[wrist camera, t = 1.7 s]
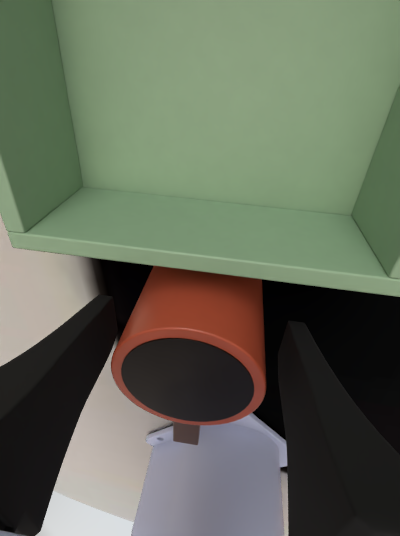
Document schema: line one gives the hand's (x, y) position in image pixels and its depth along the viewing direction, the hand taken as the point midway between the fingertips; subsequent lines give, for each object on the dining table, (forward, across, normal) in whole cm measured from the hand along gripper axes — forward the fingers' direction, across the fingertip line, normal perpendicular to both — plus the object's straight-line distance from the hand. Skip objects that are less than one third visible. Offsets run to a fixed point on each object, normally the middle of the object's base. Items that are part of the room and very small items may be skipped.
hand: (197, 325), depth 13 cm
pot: (+3, 0, +2) cm, 3 cm away
